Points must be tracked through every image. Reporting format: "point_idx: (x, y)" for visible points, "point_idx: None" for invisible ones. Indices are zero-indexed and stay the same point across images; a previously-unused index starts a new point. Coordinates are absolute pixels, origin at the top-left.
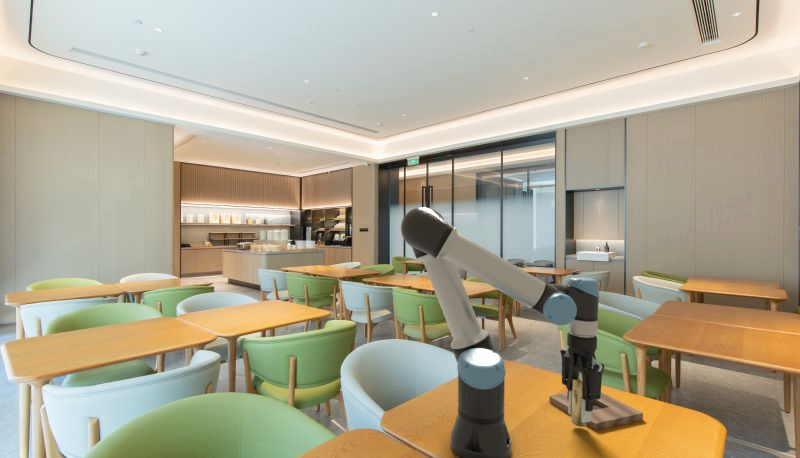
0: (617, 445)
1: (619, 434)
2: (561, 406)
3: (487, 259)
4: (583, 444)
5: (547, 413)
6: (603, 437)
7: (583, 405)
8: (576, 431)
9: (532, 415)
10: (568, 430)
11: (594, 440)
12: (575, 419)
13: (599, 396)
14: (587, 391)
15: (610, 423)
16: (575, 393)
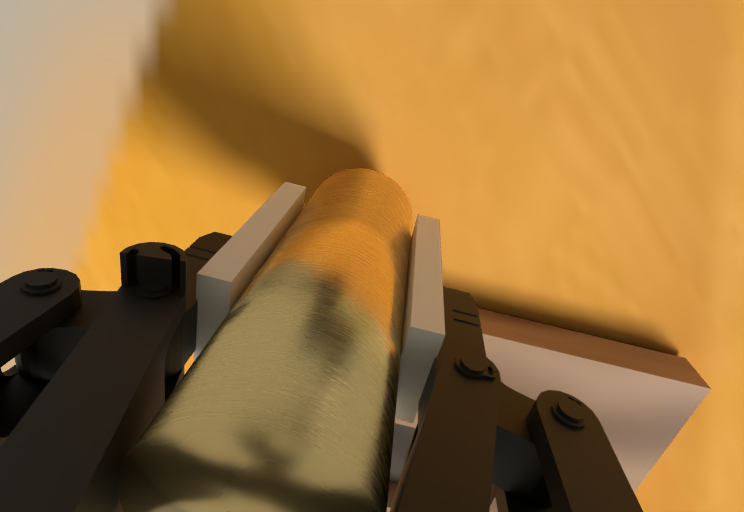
0: (152, 225)
1: None
2: (580, 343)
3: None
4: (234, 53)
5: (622, 217)
6: None
7: (234, 240)
8: (360, 167)
9: (702, 89)
10: (396, 132)
11: (238, 164)
12: (349, 181)
13: (10, 372)
14: (85, 345)
15: None
16: (303, 290)
